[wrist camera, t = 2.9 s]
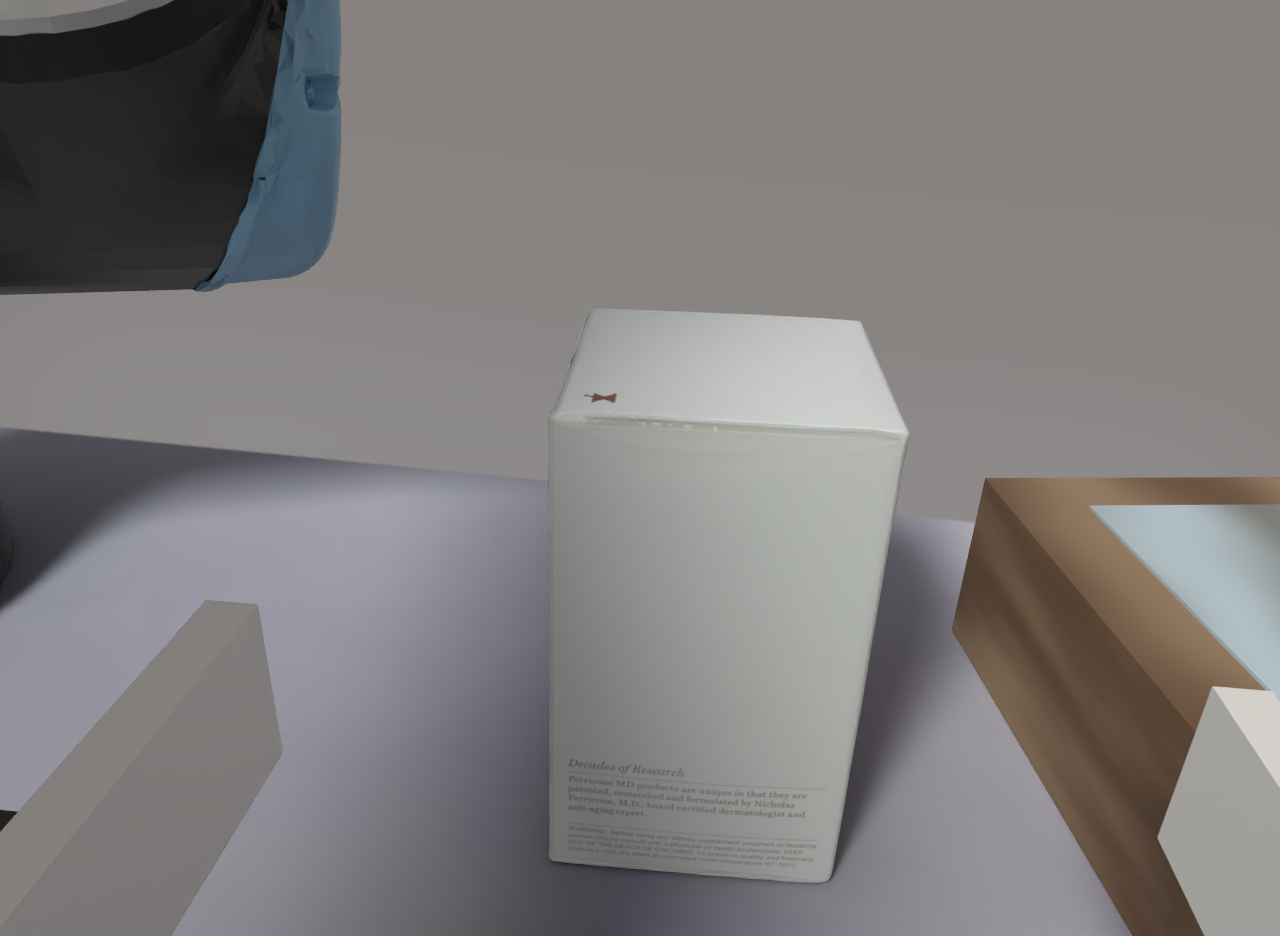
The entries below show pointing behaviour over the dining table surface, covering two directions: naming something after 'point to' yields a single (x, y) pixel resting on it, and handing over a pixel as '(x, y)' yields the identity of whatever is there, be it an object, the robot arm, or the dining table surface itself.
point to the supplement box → (714, 587)
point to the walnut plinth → (1121, 647)
